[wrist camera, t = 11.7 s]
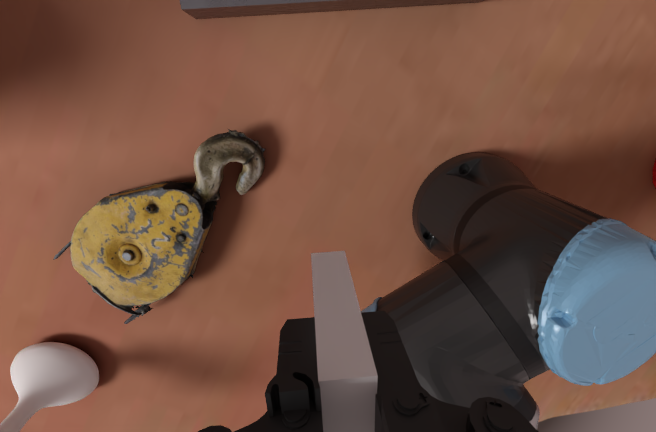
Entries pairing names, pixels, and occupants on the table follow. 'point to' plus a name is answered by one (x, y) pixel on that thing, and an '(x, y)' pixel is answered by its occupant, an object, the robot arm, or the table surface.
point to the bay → (293, 6)
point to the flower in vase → (48, 380)
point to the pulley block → (158, 228)
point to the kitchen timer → (654, 174)
